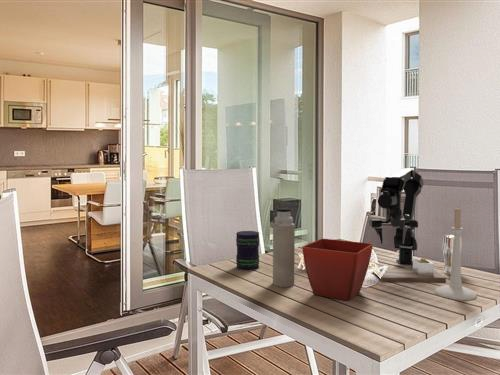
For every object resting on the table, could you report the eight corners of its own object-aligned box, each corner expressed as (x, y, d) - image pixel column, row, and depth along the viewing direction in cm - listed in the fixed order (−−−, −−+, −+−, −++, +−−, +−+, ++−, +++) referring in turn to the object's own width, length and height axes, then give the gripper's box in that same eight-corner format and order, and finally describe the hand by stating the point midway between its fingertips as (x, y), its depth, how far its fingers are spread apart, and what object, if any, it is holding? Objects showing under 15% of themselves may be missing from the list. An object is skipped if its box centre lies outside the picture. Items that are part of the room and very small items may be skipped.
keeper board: (372, 271, 180) (372, 255, 179) (431, 272, 179) (431, 255, 178) (381, 281, 166) (381, 263, 165) (445, 281, 165) (446, 263, 165)
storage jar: (231, 267, 187) (231, 232, 186) (248, 263, 194) (248, 230, 193) (247, 271, 180) (246, 235, 179) (264, 267, 187) (264, 232, 186)
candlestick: (478, 292, 152) (481, 206, 150) (473, 302, 141) (476, 209, 139) (439, 286, 159) (441, 204, 157) (431, 295, 148) (433, 207, 146)
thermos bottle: (281, 279, 168) (282, 206, 166) (298, 283, 163) (299, 208, 161) (268, 283, 162) (268, 208, 161) (285, 288, 157) (285, 210, 155)
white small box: (412, 271, 175) (412, 259, 175) (427, 271, 175) (428, 260, 175) (417, 275, 169) (418, 263, 169) (433, 275, 169) (433, 263, 169)
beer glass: (457, 270, 182) (458, 234, 181) (463, 274, 175) (464, 237, 174) (439, 270, 183) (440, 234, 182) (445, 274, 176) (446, 237, 175)
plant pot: (372, 290, 155) (373, 243, 153) (356, 306, 138) (357, 253, 137) (321, 282, 164) (322, 238, 163) (300, 296, 148) (301, 246, 147)
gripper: (375, 208, 173) (374, 247, 174) (423, 208, 172) (422, 248, 173) (368, 205, 184) (368, 242, 185) (413, 205, 183) (412, 242, 184)
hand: (392, 244), depth 182 cm, fingers open, 9 cm apart
